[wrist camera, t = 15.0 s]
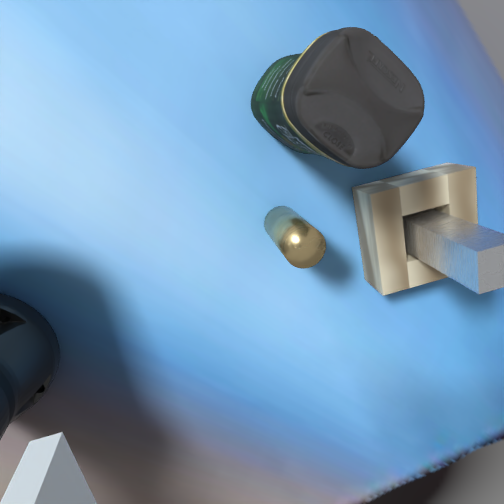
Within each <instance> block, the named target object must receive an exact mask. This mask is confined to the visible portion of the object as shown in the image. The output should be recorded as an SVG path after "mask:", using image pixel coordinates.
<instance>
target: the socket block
mask: <svg viewBox="0 0 504 504" xmlns="http://www.w3.org/2000/svg"><path fill="white" fill-rule="evenodd" d="M352 192H353V199H354V206H355V213H356V220H357V227H358V234H359V241H360V249H361V256H362V263H363V270H364V277H365V280H366V281H367V282H368V283H369V284H370V285H372V286H373V287H374V288H375V289H376V290H377V291H378V292H380V293H381V294H382V295H383V296H384V295H387V294H391V293H394V292H398V291H401V290H405V289H408V288H412V287H415V286H419V285H422V284H426V283H429V282H433V281H436V280H440V279H443V278H447V277H449V276H447V275H445V274H443V273H442V272H440V271H438V270H437V269H435V268H433V267H431V266H430V265H428V264H426V263H425V262H423V261H421V260H419V259H418V258H416V257H414V256H413V255H411V254H409V253H408V252H406V248H405V238H404V228H403V218H402V216H405V215H409V214H412V213H416V212H420V211H423V210H427V209H431V208H432V209H435V210H438V211H440V212H443V213H446V214H449V215H452V216H455V217H457V218H460V219H463V220H466V221H469V222H472V223H475V224H477V225H478V217H477V191H476V167H473V166H466V165H460V164H453V163H444V164H440V165H436V166H432V167H428V168H424V169H420V170H417V171H413V172H409V173H405V174H401V175H397V176H394V177H390V178H386V179H382V180H378V181H374V182H370V183H367V184H363V185H359V186H355V187H352Z"/></svg>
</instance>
